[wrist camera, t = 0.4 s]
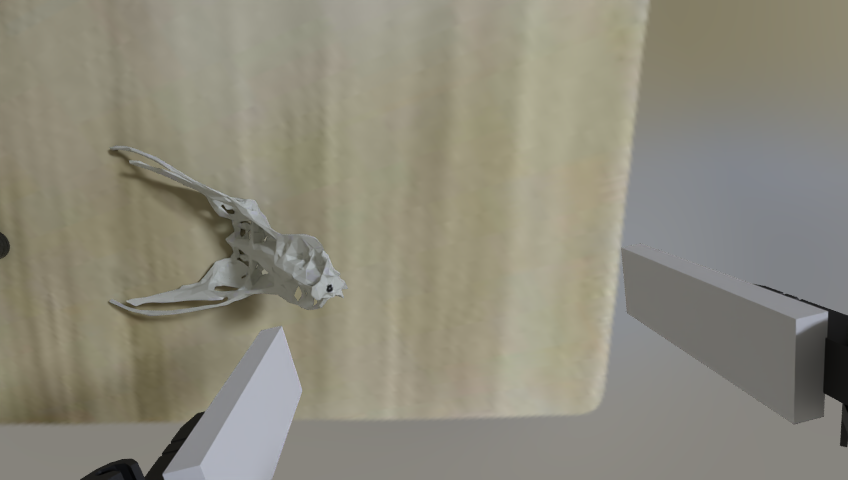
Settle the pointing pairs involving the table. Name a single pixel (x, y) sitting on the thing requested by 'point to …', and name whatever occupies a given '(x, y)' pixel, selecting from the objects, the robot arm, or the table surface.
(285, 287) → the skeletal model
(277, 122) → the table surface
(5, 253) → the posts
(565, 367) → the table surface
